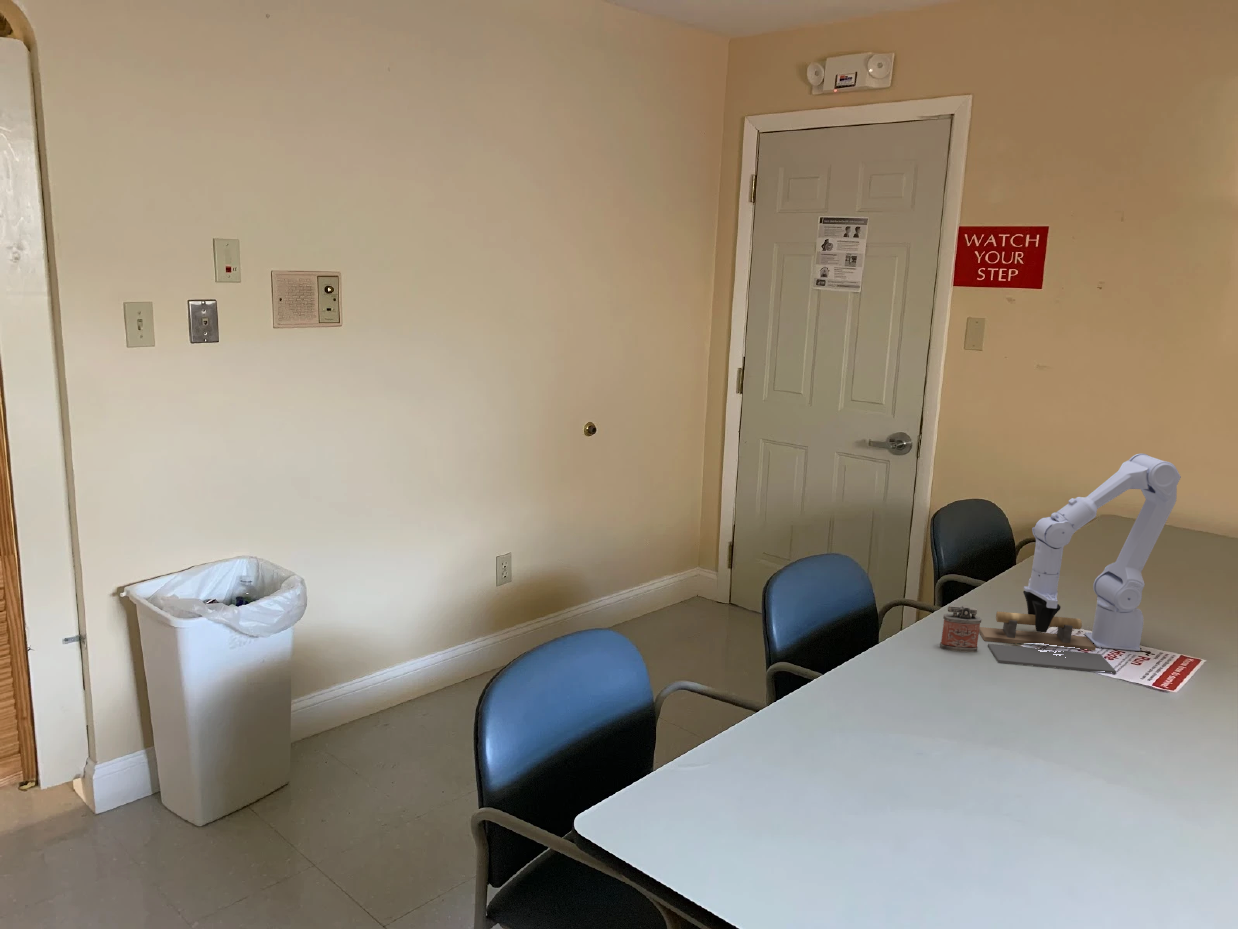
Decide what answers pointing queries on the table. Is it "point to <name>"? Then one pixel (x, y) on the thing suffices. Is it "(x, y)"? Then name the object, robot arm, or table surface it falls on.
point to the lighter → (960, 629)
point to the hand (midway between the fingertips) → (1037, 626)
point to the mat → (1050, 658)
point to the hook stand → (1035, 636)
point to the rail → (1030, 620)
